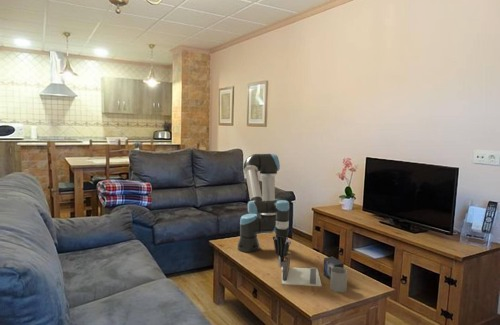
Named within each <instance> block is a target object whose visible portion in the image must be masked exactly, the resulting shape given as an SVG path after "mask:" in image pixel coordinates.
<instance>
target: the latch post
mask: <svg viewBox="0 0 500 325" xmlns="http://www.w3.org/2000/svg"><path fill="white" fill-rule="evenodd" d="M309 268H310V284H316V269H317V267H315V266H313V267H312V266H310V267H309Z"/></svg>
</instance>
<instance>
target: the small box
mask: <svg viewBox="0 0 500 325" xmlns="http://www.w3.org/2000/svg"><path fill="white" fill-rule="evenodd" d="M344 266H345V265H344V262H343V261H341V260H339V259H337V258H336V257H335V256H329V257H323V276H324V277H325V278H326V279H328V280H330V281H331V268H333V267H341V268H344ZM344 269H345V268H344Z"/></svg>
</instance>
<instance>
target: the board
mask: <svg viewBox="0 0 500 325" xmlns="http://www.w3.org/2000/svg"><path fill="white" fill-rule="evenodd" d="M282 278H283V266H282V267H281V285H283V286H284V285H287V286H305V287H306V286H310V287H322V283H321V282H322V281H321V278H320V274H319V270H318V268H316V284H310V267H309V268H308V267H304V268H303V267H290V268H289V271H288V275H287V280H286V281H283V280H282Z"/></svg>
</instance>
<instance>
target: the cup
mask: <svg viewBox="0 0 500 325" xmlns="http://www.w3.org/2000/svg"><path fill="white" fill-rule="evenodd" d="M347 284H348V270H347V269H346V268H341V267H333V268H331V280H330V283H329V287H330V289H331V291H333V292H335V293H345V292H347V290H348V289H347V288H348V287H347Z"/></svg>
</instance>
